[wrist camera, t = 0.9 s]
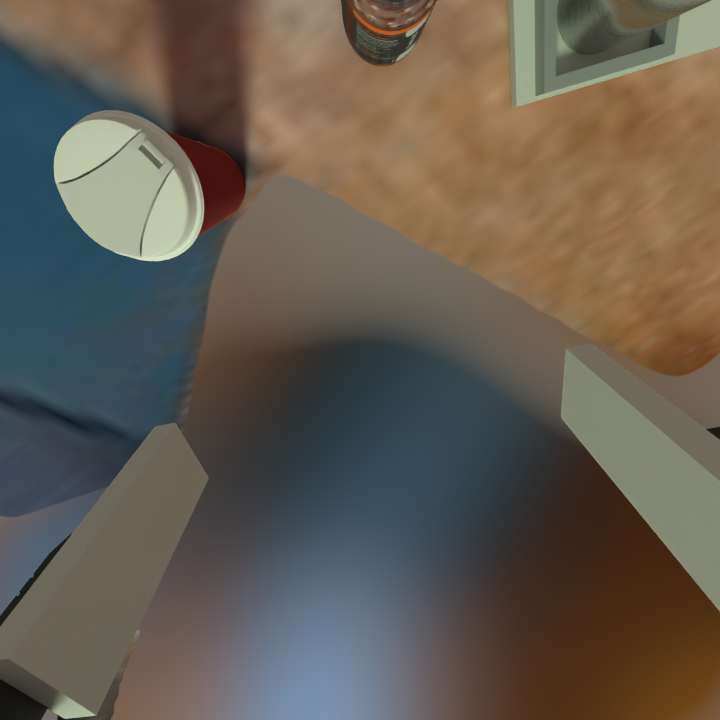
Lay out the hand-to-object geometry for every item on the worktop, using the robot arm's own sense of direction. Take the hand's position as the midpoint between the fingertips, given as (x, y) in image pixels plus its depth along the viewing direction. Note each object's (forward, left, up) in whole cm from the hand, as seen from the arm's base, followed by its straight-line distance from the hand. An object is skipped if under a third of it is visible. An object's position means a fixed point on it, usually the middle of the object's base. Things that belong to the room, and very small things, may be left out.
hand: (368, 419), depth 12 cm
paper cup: (-9, -11, -26) cm, 29 cm away
